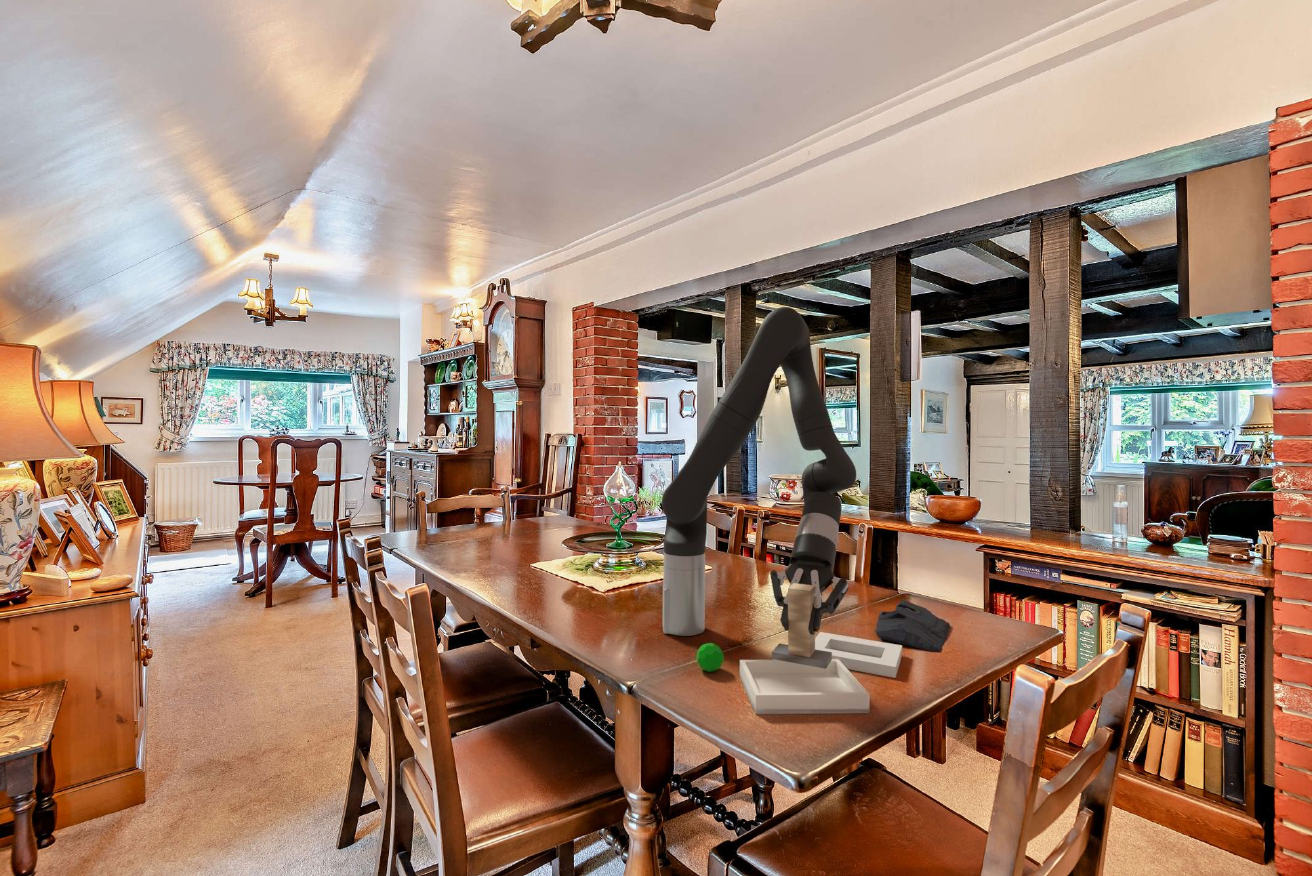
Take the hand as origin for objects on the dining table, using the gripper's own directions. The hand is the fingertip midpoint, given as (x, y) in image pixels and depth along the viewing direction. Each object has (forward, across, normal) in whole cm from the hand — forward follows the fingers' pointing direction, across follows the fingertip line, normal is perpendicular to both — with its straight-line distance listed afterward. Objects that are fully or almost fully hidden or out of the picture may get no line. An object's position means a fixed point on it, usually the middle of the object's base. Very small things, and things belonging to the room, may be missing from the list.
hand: (798, 629), depth 97 cm
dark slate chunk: (-23, +13, +40) cm, 48 cm away
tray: (+7, 0, +9) cm, 12 cm away
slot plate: (-8, +5, +24) cm, 26 cm away
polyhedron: (+6, -17, +10) cm, 21 cm away
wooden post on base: (+3, 0, +5) cm, 6 cm away
